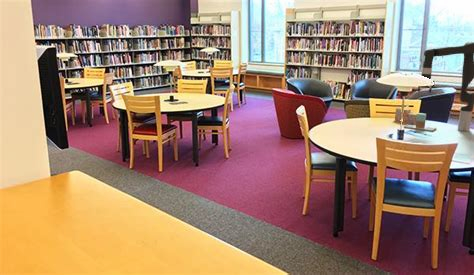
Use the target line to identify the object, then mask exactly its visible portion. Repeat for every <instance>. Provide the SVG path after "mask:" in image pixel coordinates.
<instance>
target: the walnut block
mask: <svg viewBox="0 0 474 275" xmlns="http://www.w3.org/2000/svg"><path fill="white" fill-rule="evenodd" d="M415 125H416V127H417V128H424V127H426V121H424V122H423V121H416V124H415Z"/></svg>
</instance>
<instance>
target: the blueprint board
mask: <svg viewBox="0 0 474 275" xmlns="http://www.w3.org/2000/svg"><path fill="white" fill-rule="evenodd" d="M403 128H404V129H409V130H417V131H424V132H431V133H433V132H435V131H437V127H430V126H425V127H424V128H417V127H416V124H408V123H406V124H405V125H404V126H403Z"/></svg>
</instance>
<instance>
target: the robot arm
mask: <svg viewBox="0 0 474 275" xmlns="http://www.w3.org/2000/svg"><path fill="white" fill-rule="evenodd" d="M423 55H424V61H423V64H422V69H421V76H424V77H427V78H429V79H431V80H432V72H433V61H434V57H435V58H436V57H445V56H450V55H451V56H453V55H463V62H462V73H461V77H462V78H461V88H460V94H459V101H460V102H461V103H464V104H465V103H466V104H467V105H463V106H461V107H460V109H459V117H458V126H457V131H460V132H470V131H471V130H470V129H471V126H472V124H471V123H472V119H473V118H472V116H473V110H474V92H472V91H471V92H470V91H467V90H468V88H469V86H470V84H471V82H473V80H474V42H473V41H467V42H465V43H464V44H463V45H460V46H459V45H458V46H443V47H439V48H438V47H437V48H428V49H425V51H423ZM432 81H433V82H434V85H433V86H432V85H431V86H428V87H429V88H428V93H429V94H430V93H432V89H434V88H435V84H436V82H435V80H432ZM417 92H418V93H420V92H421V87H417Z"/></svg>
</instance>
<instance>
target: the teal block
mask: <svg viewBox="0 0 474 275" xmlns="http://www.w3.org/2000/svg"><path fill="white" fill-rule="evenodd" d="M416 114H417V120H416V121H423V122H424V121H425V122H426V121H427V120H426V119H427V113H423V112H418V113H416Z"/></svg>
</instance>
